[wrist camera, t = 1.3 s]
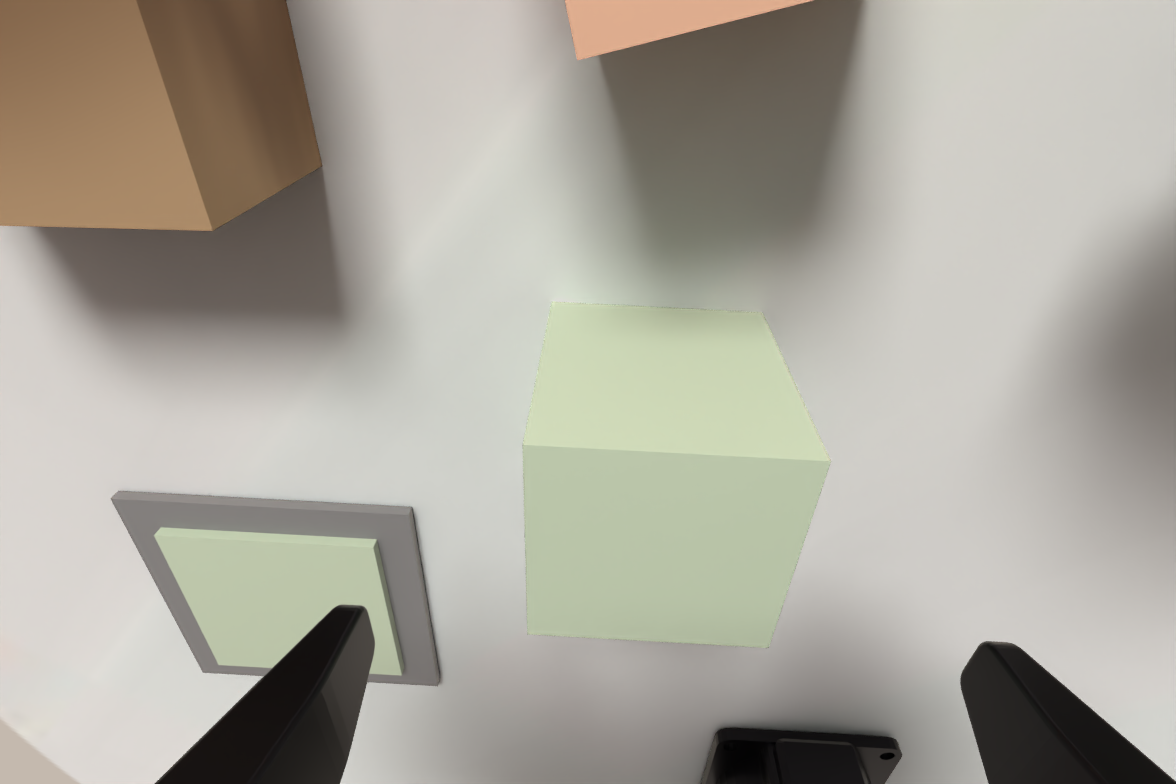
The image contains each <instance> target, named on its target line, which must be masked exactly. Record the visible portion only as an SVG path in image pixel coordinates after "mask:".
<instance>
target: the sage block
mask: <svg viewBox="0 0 1176 784" xmlns="http://www.w3.org/2000/svg"><path fill="white" fill-rule="evenodd" d="M830 463H831V460H830V458H829V456H828V454H827V452H826V449H825V447H824V445H823V443H822V441H821V439H820V436H819V434H818V432H817V430H816V428H815V426H814V423H813V421H812V419H811V417H810V415H809V413H808V410H807V408H806V406H805V404H804V402H803V400H802V397H801V395H800V393H799V391H798V389H797V387H796V384H795V382H794V380H793V378H792V376H791V374H790V371H789V369H788V367H787V365H786V363H785V361H784V358H783V356H782V354H781V352H780V350H779V348H778V345H777V343H776V341H775V339H774V337H773V335H772V332H771V330H770V328H769V326H768V324H767V322H766V319H765V317H764V315H763V313H762V312H743V311H724V310H705V309H685V308H666V307H646V306H627V305H608V304H588V303H569V302H552V303H551V308H550V313H549V318H548V322H547V327H546V332H545V337H544V342H543V347H542V352H541V357H540V362H539V367H538V372H537V377H536V381H535V386H534V391H533V396H532V401H531V406H530V411H529V416H528V421H527V426H526V431H525V436H524V441H523V479H524V519H525V558H526V598H527V634H529V635H547V636H564V637H582V638H600V639H618V640H635V641H653V642H671V643H689V644H706V645H724V646H742V647H760V648H769V645H770V642H771V639H772V636H773V633H774V630H775V627H776V624H777V621H778V618H779V615H780V612H781V609H782V606H783V603H784V600H785V597H786V594H787V591H788V588H789V585H790V582H791V579H792V577H793V574H794V571H795V568H796V565H797V562H798V559H799V556H800V553H801V550H802V547H803V544H804V541H805V538H806V535H807V532H808V529H809V526H810V523H811V520H812V517H813V514H814V511H815V508H816V505H817V502H818V499H819V496H820V493H821V490H822V487H823V484H824V481H825V478H826V475H827V472H828V469H829V466H830Z"/></svg>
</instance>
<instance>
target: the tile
mask: <svg viewBox="0 0 1176 784" xmlns="http://www.w3.org/2000/svg"><path fill="white" fill-rule="evenodd" d="M111 500H112V502H113V504H114V506H115V508H116V510H117V512H118V513H119V515H120V517H121V519H122V521H123V523H124V525H125V527H126V528H127V530H128V532H129V534H130V536H131V538H132V540H133V542H134V544H135V545H136V547H137V549H138V551H139V553H140V555H141V557H142V559H143V561H144V562H145V564H146V566H147V568H148V570H149V572H150V574H151V576H152V577H153V579H154V581H155V583H156V585H157V587H158V589H159V591H160V593H161V594H162V596H163V598H164V600H165V602H166V604H167V606H168V608H169V609H170V611H171V613H172V615H173V617H174V619H175V621H176V623H177V625H178V626H179V628H180V630H181V632H182V634H183V636H184V638H185V640H186V642H187V643H188V645H189V647H190V649H191V651H192V653H193V655H194V657H195V658H196V660H197V662H198V664H199V666H200V668H201V670H202V672H203V673H220V674H237V675H255V676H265V675H266V674H267V673H268V672H269V671H270V670H271V669H272V668H273V667H274V666H275V665H276V664H277V663H278V662H279V661H280V660H281V659H282V658H283V657H284V656H285V655H286V654H287V653H288V652H289V651H290V650H291V649H292V648H293V647H294V646H295V645H296V644H297V643H298V642H299V641H300V640H301V639H302V638H303V637H304V636H305V635H306V634H307V633H308V632H309V631H310V630H311V629H312V628H313V627H314V626H315V625H316V624H317V623H318V622H319V621H321V620H322V619H323V618H324V617H325V616H326V615H327V614H328V613H329V612H330V611H331V610H332V609H333V608H334V607H336V606H338V605H342V604H345V605H362V606H364V607H365V608H366V609H367V611H368V614H369V618H370V622H371V626H372V630H373V634H374V638H375V650H374V656H373V660H372V664H371V668H370V672H369V676H368V680H367V682H376V683H393V684H411V685H428V686H438V683H439V679H440V676H439V670H438V664H437V658H436V652H435V646H434V640H433V634H432V628H431V622H430V615H429V609H428V603H427V597H426V591H425V585H424V579H423V573H422V567H421V561H420V555H419V549H418V542H417V536H416V530H415V524H414V518H413V512H412V507H401V506H383V505H365V504H347V503H328V502H310V501H292V500H274V499H256V498H237V497H219V496H201V495H183V494H164V493H146V492H128V491H118V492H117V493H116V494H115V495H114V496H113V497H112V498H111Z"/></svg>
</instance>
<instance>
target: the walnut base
mask: <svg viewBox="0 0 1176 784" xmlns="http://www.w3.org/2000/svg"><path fill="white" fill-rule="evenodd" d="M321 166H322V163H321V158H320V154H319V149H318V145H317V140H316V136H315V131H314V126H313V122H312V117H311V113H310V108H309V103H308V99H307V94H306V90H305V85H304V81H303V76H302V71H301V67H300V62H299V58H298V53H297V49H296V44H295V39H294V35H293V30H292V26H291V21H290V17H289V12H288V7H287V3H286V0H0V226H39V227H78V228H118V229H158V230H198V231H214V230H215V229H217V228H219V227H220V226H222V225H224V224H225V223H227V222H229V221H230V220H232V219H234V218H235V217H237V216H239V215H240V214H242V213H244V212H245V211H247V210H249V209H250V208H252V207H254V206H256V205H257V204H259V203H261V202H262V201H264V200H266V199H267V198H269V197H271V196H272V195H274V194H276V193H277V192H279V191H281V190H282V189H284V188H286V187H287V186H289V185H291V184H293V183H294V182H296V181H298V180H299V179H301V178H303V177H304V176H306V175H308V174H309V173H311V172H313V171H314V170H316V169H318V168H319V167H321Z"/></svg>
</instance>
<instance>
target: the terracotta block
mask: <svg viewBox="0 0 1176 784" xmlns="http://www.w3.org/2000/svg"><path fill="white" fill-rule="evenodd" d="M809 1H813V0H565V4H566V8H567V13H568V18H569V23H570V28H571V32H572V37H573V42H574V47H575V52H576V57H577V60H581V59H585V58H589V57H593V56H597V55H601V54H605V53H609V52H613V51H616V50H620V49H624V48H628V47H632V46H636V45H640V44H644V43H648V42H652V41H656V40H660V39H664V38H668V37H672V36H675V35H679V34H683V33H687V32H691V31H695V30H699V29H703V28H707V27H711V26H715V25H719V24H723V23H727V22H731V21H734V20H738V19H742V18H746V17H750V16H754V15H758V14H762V13H766V12H770V11H774V10H778V9H782V8H786V7H790V6H793V5H797V4H801V3H805V2H809Z"/></svg>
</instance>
